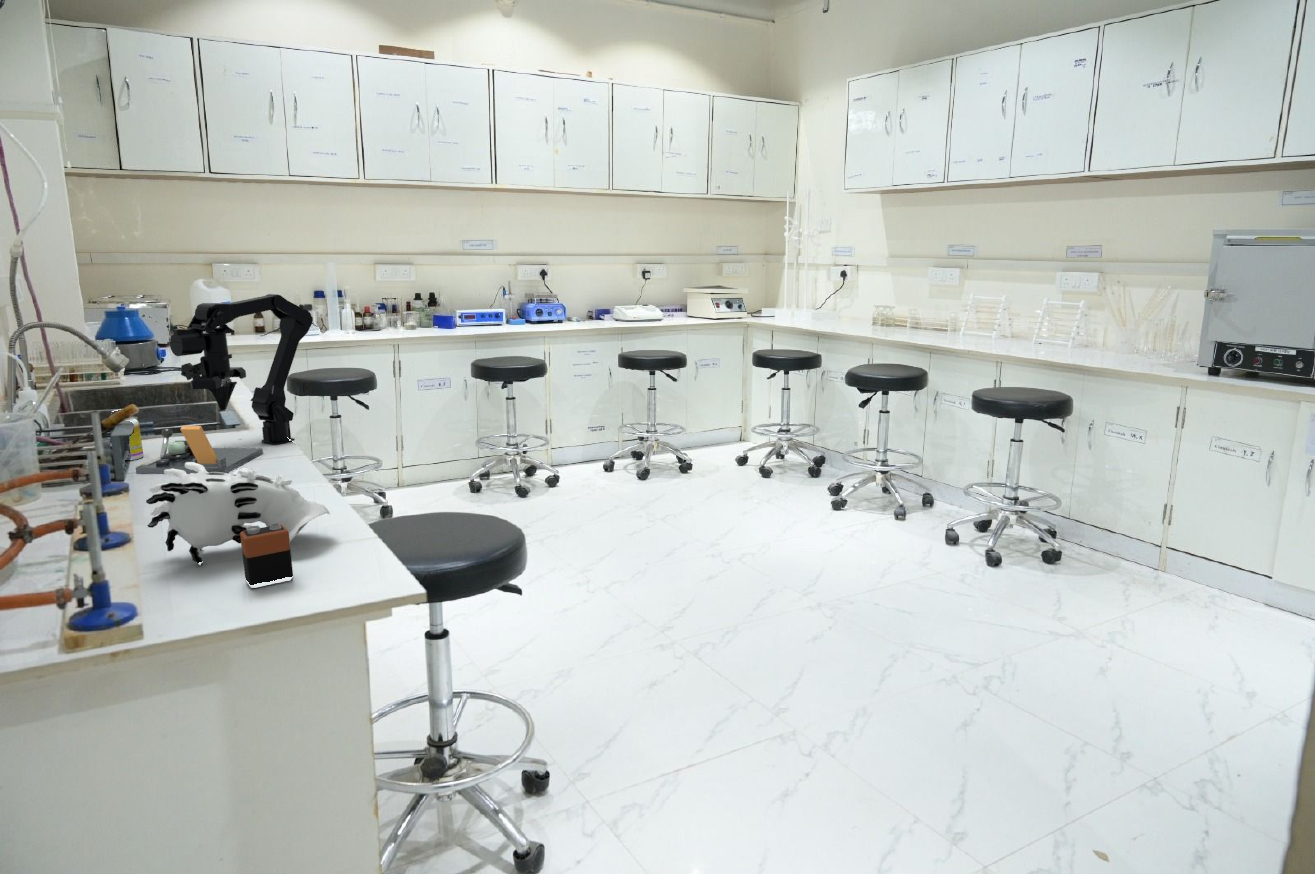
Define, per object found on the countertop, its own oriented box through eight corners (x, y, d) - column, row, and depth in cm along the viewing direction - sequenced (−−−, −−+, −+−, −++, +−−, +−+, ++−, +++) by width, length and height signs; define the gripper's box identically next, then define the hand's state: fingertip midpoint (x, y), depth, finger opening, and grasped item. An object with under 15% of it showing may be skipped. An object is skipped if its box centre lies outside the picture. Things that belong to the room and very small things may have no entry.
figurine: (332, 568, 155) (142, 576, 141) (322, 540, 169) (149, 544, 155) (337, 480, 152) (144, 479, 138) (327, 459, 166) (151, 457, 152)
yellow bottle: (149, 455, 223) (143, 408, 220) (132, 462, 216) (125, 413, 213) (126, 454, 223) (119, 407, 220) (108, 461, 217) (100, 412, 214)
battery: (245, 582, 141) (238, 526, 139) (287, 572, 145) (282, 518, 143) (250, 590, 138) (244, 533, 135) (294, 581, 142) (288, 525, 139)
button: (173, 450, 216) (172, 441, 215) (188, 450, 216) (187, 441, 215) (165, 454, 212) (164, 444, 212) (180, 454, 212) (179, 444, 212)
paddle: (201, 463, 207) (181, 425, 198) (222, 463, 207) (203, 425, 198) (198, 467, 206) (178, 429, 197) (219, 468, 206) (200, 430, 197)
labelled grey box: (189, 444, 224) (189, 439, 224) (204, 444, 224) (204, 439, 224) (174, 445, 217) (174, 440, 217) (190, 445, 217) (190, 440, 217)
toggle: (160, 459, 209) (165, 429, 212) (170, 459, 209) (175, 429, 212) (154, 457, 207) (160, 427, 209) (164, 457, 207) (170, 427, 209)
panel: (182, 452, 225) (180, 439, 225) (263, 453, 225) (262, 440, 225) (134, 474, 205) (132, 459, 204) (224, 474, 205) (222, 460, 204)
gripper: (202, 347, 228) (209, 403, 232) (165, 357, 210) (174, 417, 214) (243, 346, 229) (250, 402, 232) (211, 356, 210) (218, 417, 214)
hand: (223, 409), depth 223 cm, fingers closed
